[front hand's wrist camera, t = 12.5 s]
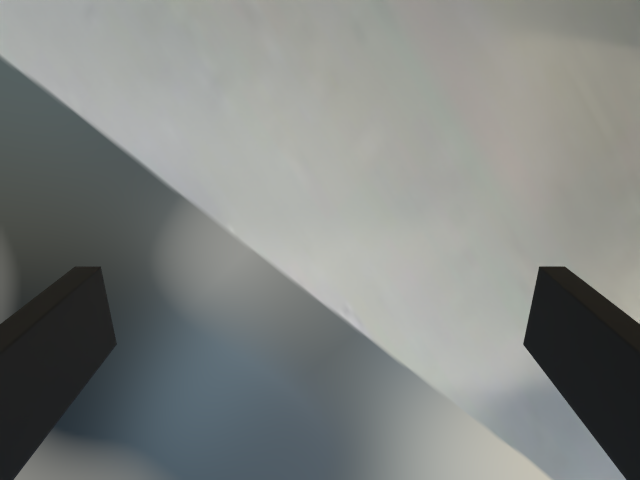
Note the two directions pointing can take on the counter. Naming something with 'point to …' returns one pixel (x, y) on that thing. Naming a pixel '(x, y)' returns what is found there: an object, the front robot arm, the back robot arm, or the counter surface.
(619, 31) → the counter surface
